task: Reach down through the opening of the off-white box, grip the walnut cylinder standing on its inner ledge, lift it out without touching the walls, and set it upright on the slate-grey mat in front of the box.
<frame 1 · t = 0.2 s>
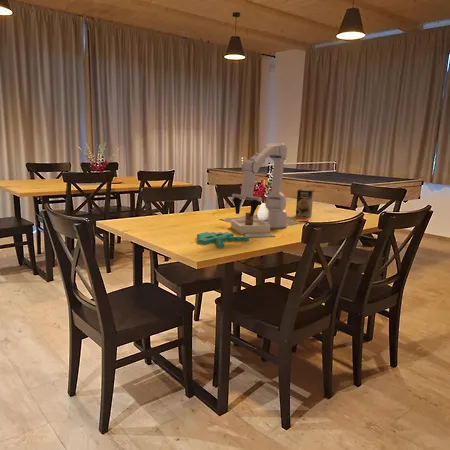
hand: (244, 214, 193), 11 cm above the table, tool pointing down, fingers open, 7 cm apart
alien figure: (217, 241, 187), on the table
coffee box: (303, 216, 254), on the table
slate mat: (258, 235, 199), on the table
walnut cylinder: (249, 224, 212), point 2 cm above the table, touching open box
open box: (250, 230, 210), on the table
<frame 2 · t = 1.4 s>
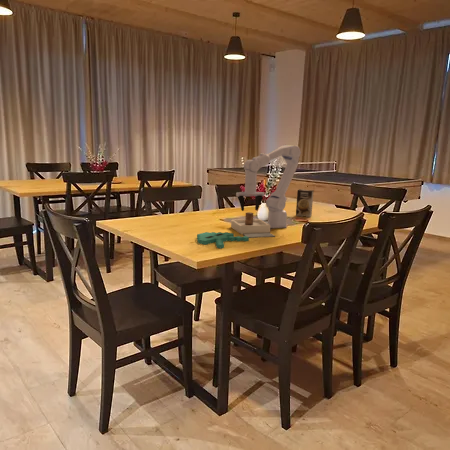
hand: (249, 210, 210), 10 cm above the table, tool pointing down, fingers open, 7 cm apart
nothing on the table moved.
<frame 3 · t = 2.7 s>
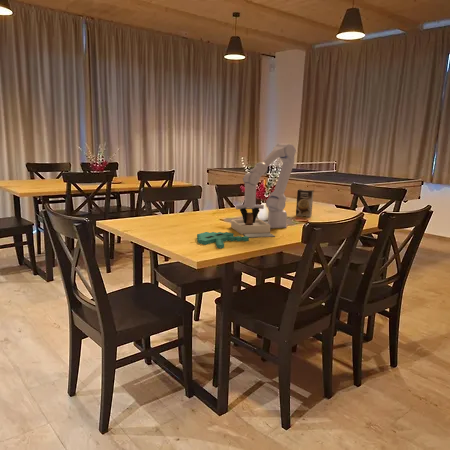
hand: (249, 222, 211), 3 cm above the table, tool pointing down, fingers closed on walnut cylinder, 4 cm apart
walnut cylinder: (249, 224, 212), point 2 cm above the table, touching gripper, open box
everything else where it was.
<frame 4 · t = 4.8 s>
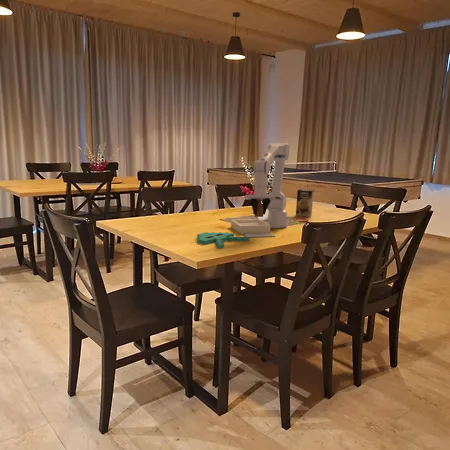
hand: (259, 214, 197), 10 cm above the table, tool pointing down, fingers closed on walnut cylinder, 4 cm apart
walnut cylinder: (259, 216, 197), point 9 cm above the table, touching gripper
everything else where it was.
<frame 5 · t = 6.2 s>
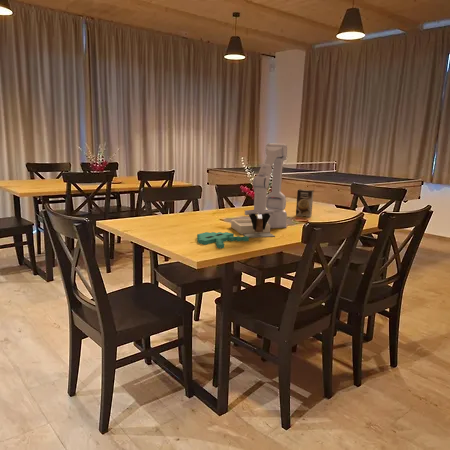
hand: (258, 229, 198), 3 cm above the table, tool pointing down, fingers closed on walnut cylinder, 4 cm apart
walnut cylinder: (258, 231, 198), point 2 cm above the table, touching gripper
everything else where it was.
when the fingers open (3 cm above the table, at t = 7.1 s): walnut cylinder drops 1 cm, resting on slate mat.
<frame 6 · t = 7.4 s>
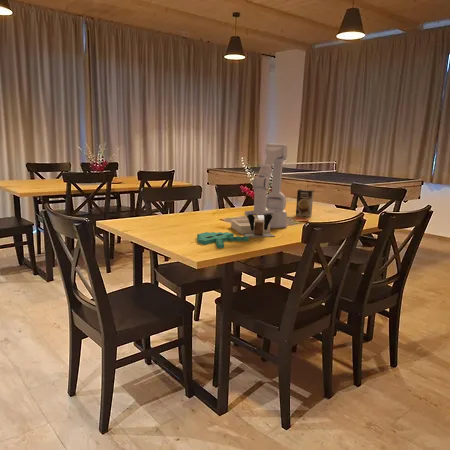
hand: (258, 229, 198), 3 cm above the table, tool pointing down, fingers open, 6 cm apart
walnut cylinder: (258, 234, 199), resting on slate mat
everything else where it was.
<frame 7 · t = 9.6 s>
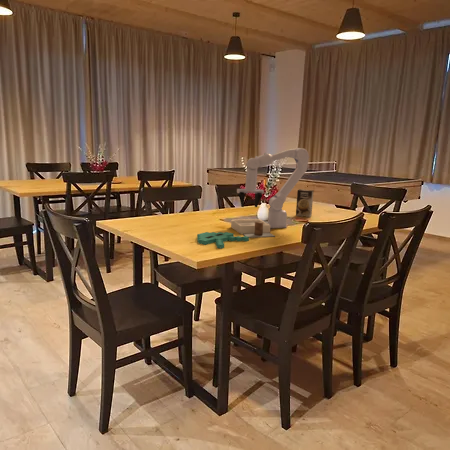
hand: (249, 206, 218), 10 cm above the table, tool pointing down, fingers open, 7 cm apart
nothing on the table moved.
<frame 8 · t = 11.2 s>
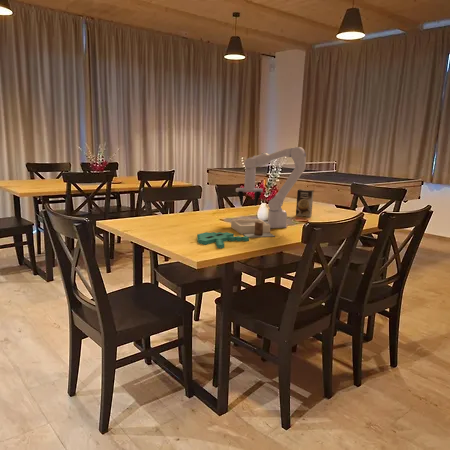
hand: (248, 205, 222), 10 cm above the table, tool pointing down, fingers open, 7 cm apart
nothing on the table moved.
at the end: walnut cylinder inside the target area on the slate mat (0.2 cm from its centre), point 0.4 cm above the slate mat's base; walnut cylinder tilted 0°; walnut cylinder touching slate mat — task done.
